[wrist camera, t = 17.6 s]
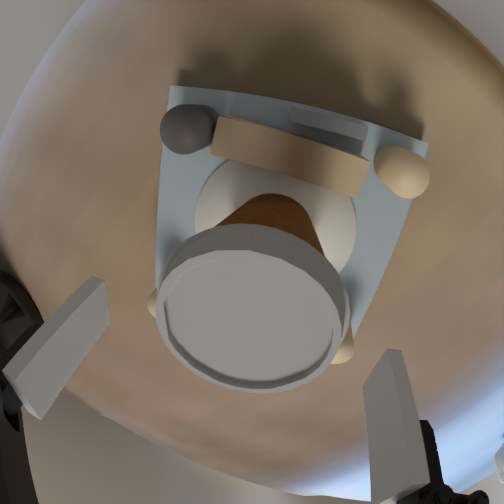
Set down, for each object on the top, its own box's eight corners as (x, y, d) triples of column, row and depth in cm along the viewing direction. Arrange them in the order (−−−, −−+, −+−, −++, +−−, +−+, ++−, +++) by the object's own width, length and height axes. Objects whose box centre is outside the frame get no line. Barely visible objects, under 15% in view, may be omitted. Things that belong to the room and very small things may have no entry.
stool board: (161, 289, 30) (138, 321, 25) (178, 86, 21) (145, 82, 16) (348, 335, 29) (352, 374, 24) (421, 141, 20) (451, 151, 15)
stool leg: (174, 143, 21) (156, 149, 19) (183, 101, 20) (165, 100, 17) (349, 193, 21) (356, 206, 18) (364, 150, 19) (374, 157, 17)
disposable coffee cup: (255, 147, 21) (201, 187, 10) (358, 221, 22) (397, 322, 11) (194, 242, 25) (124, 335, 15) (286, 301, 26) (269, 416, 16)
